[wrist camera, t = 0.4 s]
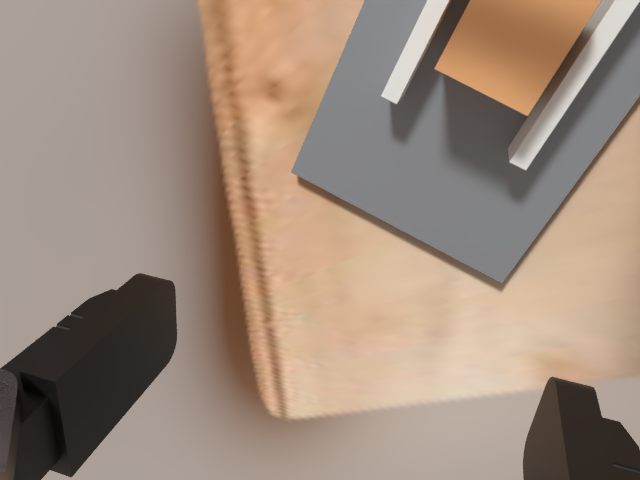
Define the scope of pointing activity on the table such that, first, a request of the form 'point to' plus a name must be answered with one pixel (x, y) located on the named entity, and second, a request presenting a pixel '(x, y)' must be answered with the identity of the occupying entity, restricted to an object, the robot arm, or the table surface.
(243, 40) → the table surface
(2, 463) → the robot arm
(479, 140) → the channel
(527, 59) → the block
